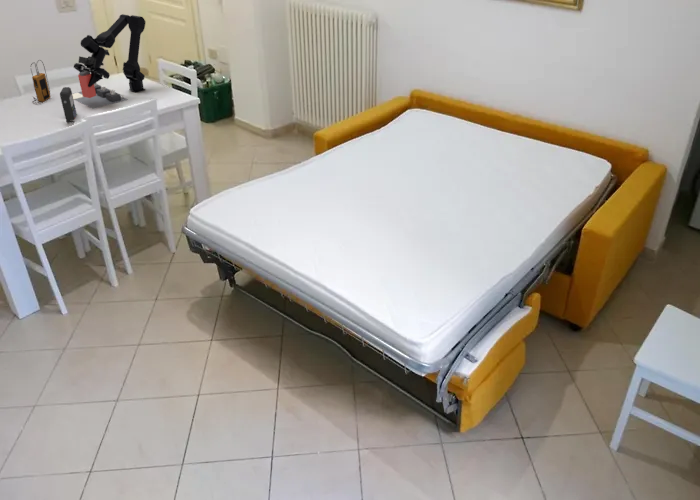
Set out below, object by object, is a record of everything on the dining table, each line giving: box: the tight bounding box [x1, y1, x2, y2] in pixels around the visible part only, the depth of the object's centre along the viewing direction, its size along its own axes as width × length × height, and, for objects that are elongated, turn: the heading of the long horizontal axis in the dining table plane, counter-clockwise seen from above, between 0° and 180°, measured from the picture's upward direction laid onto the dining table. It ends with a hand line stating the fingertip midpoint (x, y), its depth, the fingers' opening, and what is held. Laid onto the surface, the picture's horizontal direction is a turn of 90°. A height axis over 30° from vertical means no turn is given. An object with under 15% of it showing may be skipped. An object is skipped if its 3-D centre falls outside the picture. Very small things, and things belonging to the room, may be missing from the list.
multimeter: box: [30, 59, 51, 105], centre depth 303 cm, size 15×10×20 cm
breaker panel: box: [72, 82, 129, 110], centre depth 308 cm, size 22×28×6 cm
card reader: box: [59, 86, 78, 124], centre depth 282 cm, size 9×4×15 cm, turn 12°
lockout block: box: [77, 71, 96, 98], centre depth 293 cm, size 5×4×12 cm
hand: (85, 85), depth 293 cm, fingers closed on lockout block, 4 cm apart
